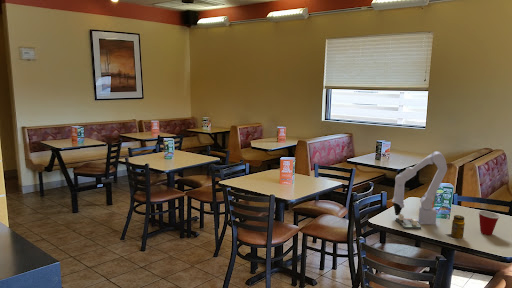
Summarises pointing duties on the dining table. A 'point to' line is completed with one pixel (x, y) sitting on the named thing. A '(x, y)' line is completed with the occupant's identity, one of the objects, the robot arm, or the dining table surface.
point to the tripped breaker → (401, 217)
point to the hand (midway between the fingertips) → (397, 215)
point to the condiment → (457, 228)
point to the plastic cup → (487, 221)
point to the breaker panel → (407, 224)
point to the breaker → (414, 221)
